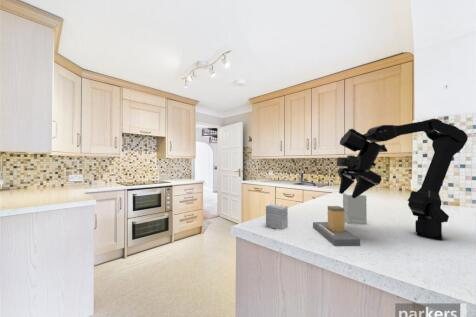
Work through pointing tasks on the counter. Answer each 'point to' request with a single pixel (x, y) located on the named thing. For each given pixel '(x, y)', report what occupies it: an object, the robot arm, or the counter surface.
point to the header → (336, 235)
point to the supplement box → (354, 209)
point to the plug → (336, 218)
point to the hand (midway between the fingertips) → (346, 195)
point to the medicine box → (276, 216)
